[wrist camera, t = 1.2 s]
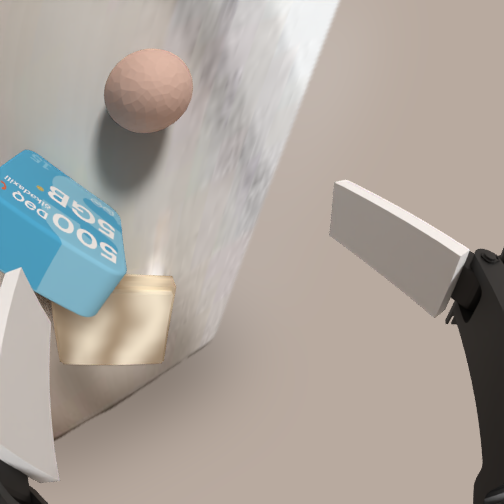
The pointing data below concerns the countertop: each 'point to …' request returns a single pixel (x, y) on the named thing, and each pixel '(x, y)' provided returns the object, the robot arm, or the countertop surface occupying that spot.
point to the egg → (148, 90)
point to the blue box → (58, 235)
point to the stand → (119, 325)
